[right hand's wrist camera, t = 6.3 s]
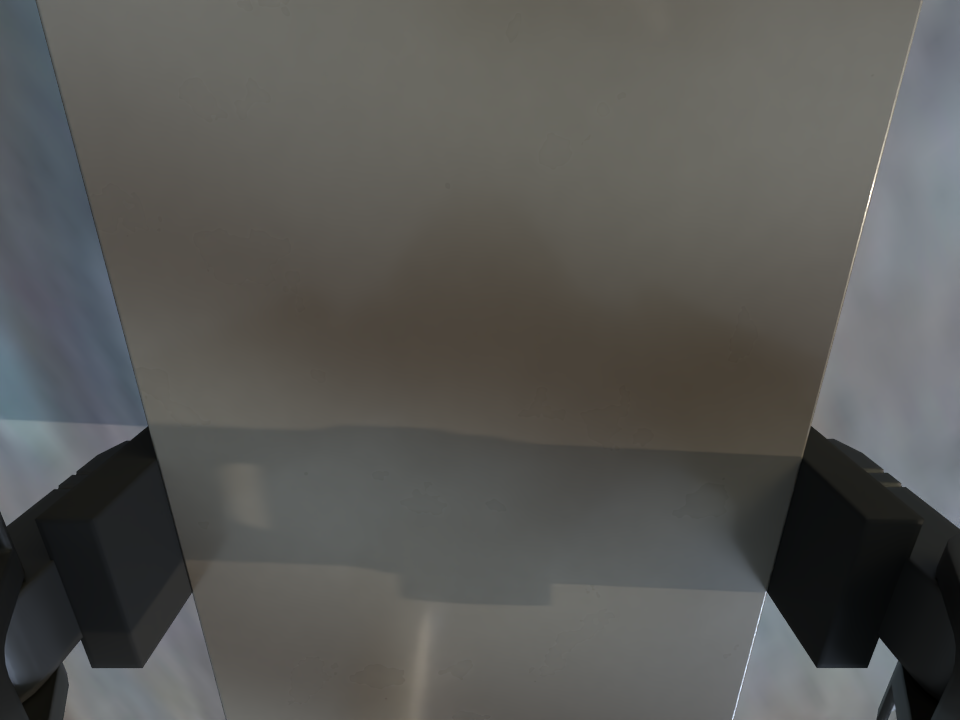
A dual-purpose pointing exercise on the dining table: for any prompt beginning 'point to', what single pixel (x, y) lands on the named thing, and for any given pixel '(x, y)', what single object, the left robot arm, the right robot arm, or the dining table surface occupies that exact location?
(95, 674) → the dining table surface
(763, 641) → the dining table surface
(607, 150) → the cabinet
